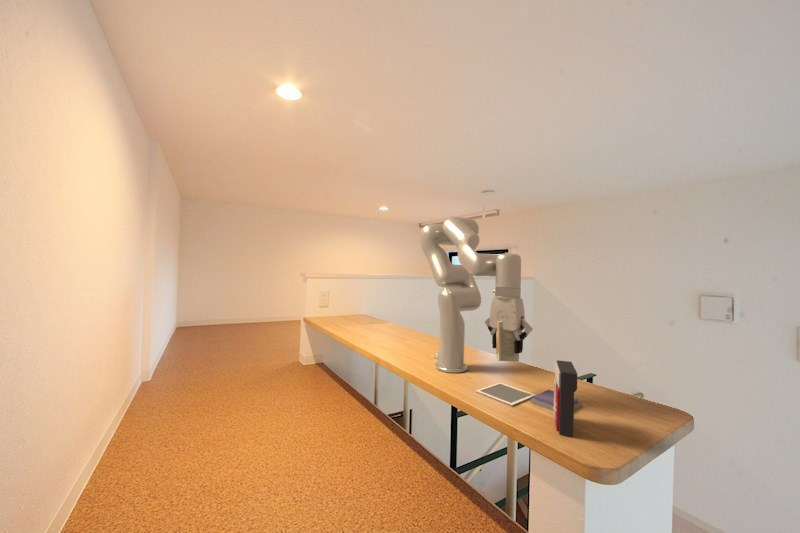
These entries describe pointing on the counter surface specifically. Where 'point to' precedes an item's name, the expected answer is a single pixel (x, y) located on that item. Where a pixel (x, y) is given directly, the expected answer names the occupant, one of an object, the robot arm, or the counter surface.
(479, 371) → the counter surface
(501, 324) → the skincare box
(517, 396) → the white picture frame
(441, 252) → the robot arm
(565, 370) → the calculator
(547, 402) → the ink pad
